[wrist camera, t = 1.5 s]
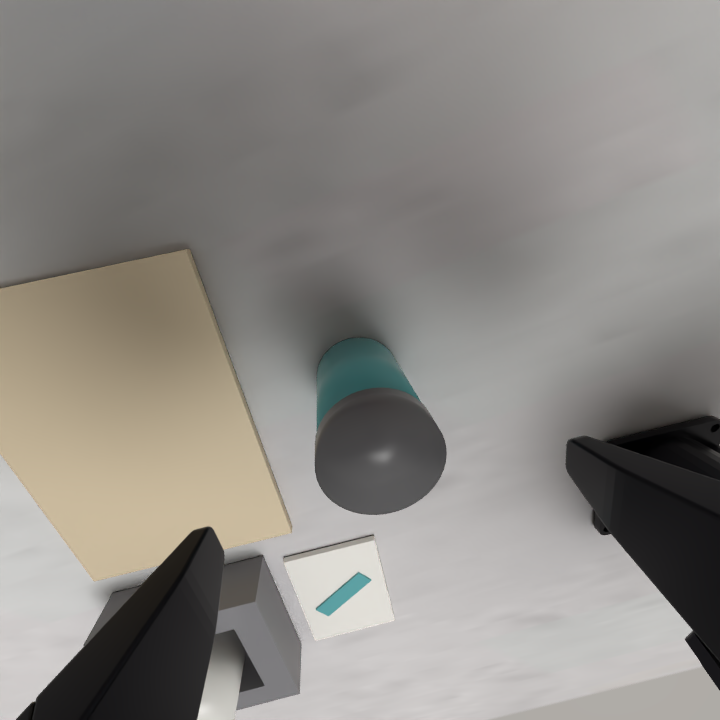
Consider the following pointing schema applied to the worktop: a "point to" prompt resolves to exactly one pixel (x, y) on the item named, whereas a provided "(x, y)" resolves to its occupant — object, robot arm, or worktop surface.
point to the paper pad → (130, 415)
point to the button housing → (249, 631)
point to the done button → (223, 678)
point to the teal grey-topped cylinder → (373, 432)
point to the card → (341, 587)
